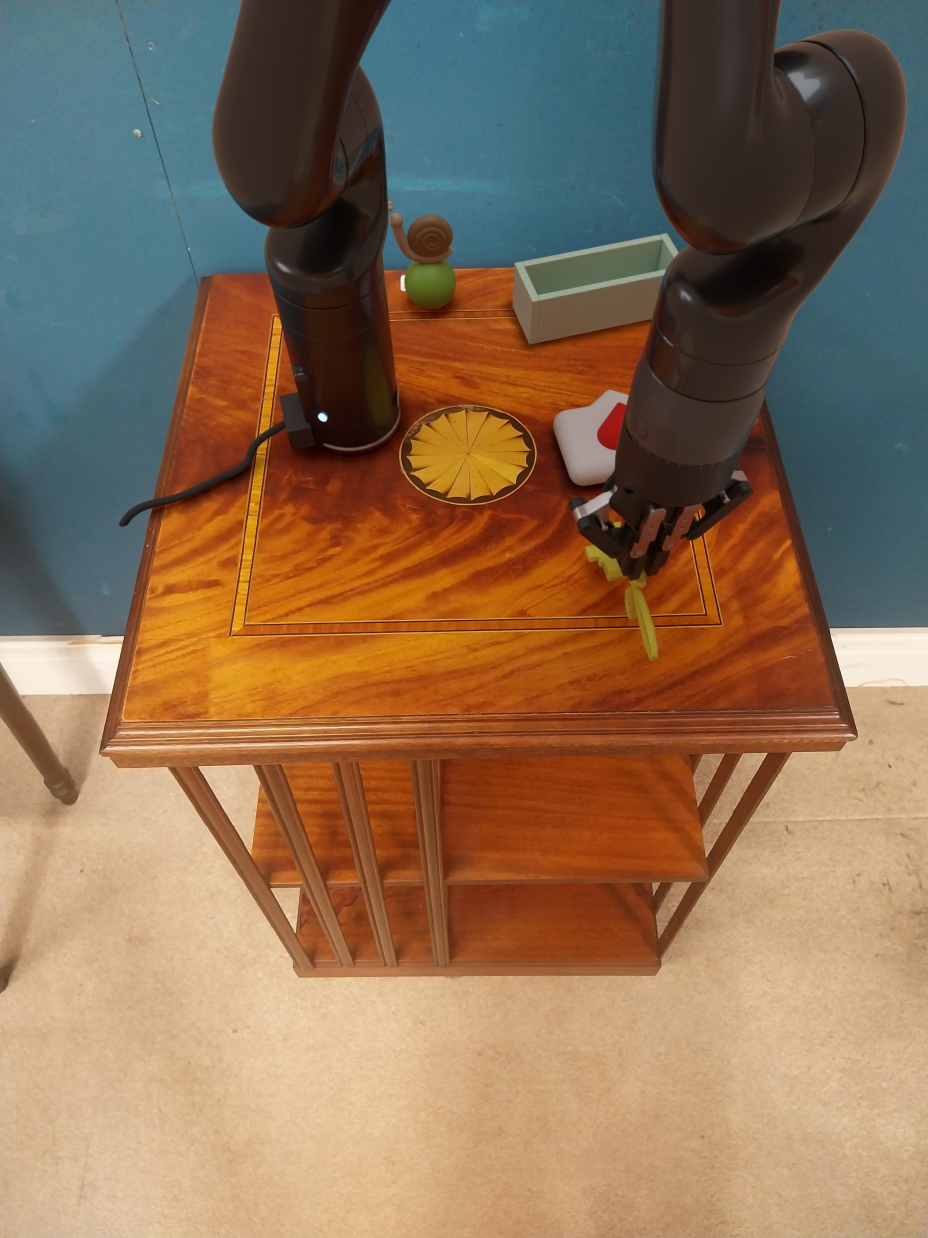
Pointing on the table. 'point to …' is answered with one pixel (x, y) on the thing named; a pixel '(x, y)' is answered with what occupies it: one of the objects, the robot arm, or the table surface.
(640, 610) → the decorative insect
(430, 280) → the snail figurine
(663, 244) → the slot tray
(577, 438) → the icon
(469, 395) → the table surface
